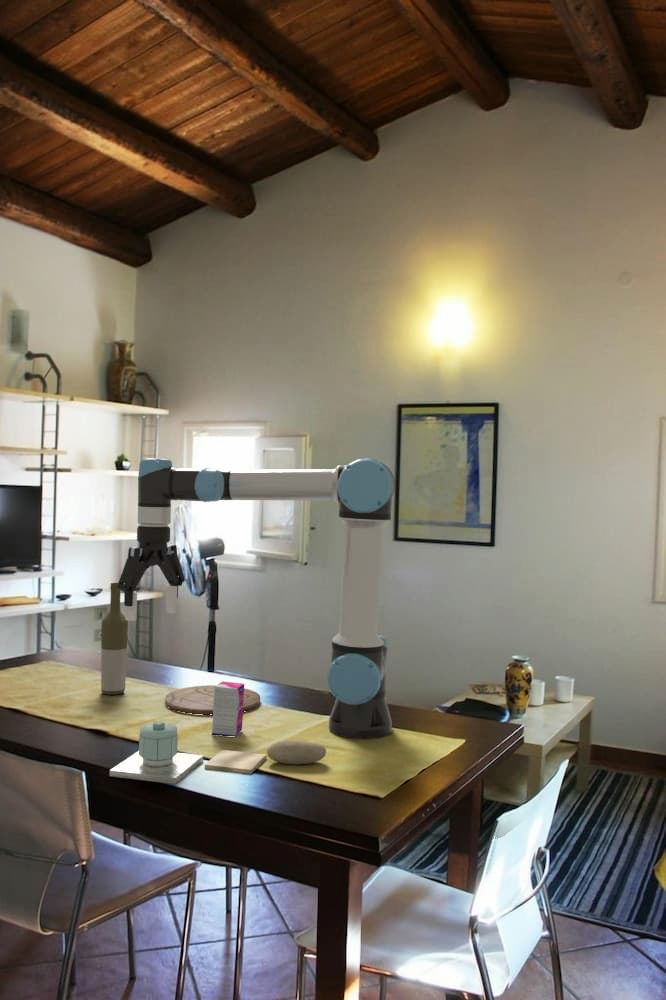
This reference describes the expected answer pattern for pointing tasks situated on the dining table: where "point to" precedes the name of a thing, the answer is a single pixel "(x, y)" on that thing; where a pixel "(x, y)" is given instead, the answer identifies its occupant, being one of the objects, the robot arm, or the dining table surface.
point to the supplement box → (228, 708)
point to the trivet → (204, 700)
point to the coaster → (235, 761)
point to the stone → (296, 752)
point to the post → (157, 768)
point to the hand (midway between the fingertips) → (151, 616)
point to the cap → (158, 741)
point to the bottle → (114, 647)
